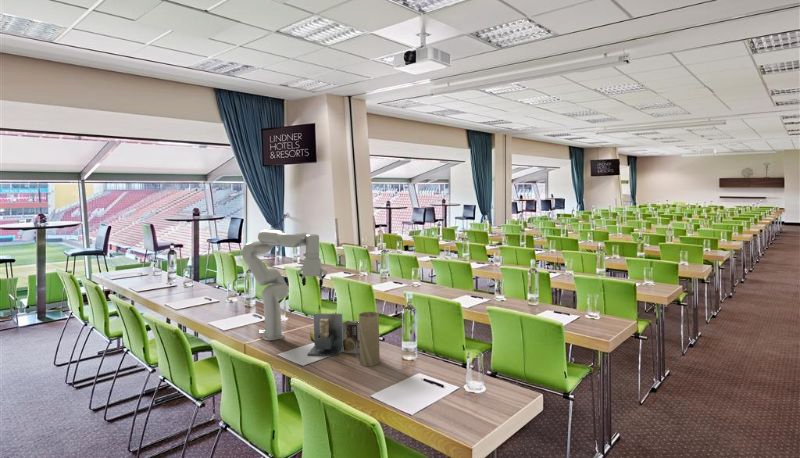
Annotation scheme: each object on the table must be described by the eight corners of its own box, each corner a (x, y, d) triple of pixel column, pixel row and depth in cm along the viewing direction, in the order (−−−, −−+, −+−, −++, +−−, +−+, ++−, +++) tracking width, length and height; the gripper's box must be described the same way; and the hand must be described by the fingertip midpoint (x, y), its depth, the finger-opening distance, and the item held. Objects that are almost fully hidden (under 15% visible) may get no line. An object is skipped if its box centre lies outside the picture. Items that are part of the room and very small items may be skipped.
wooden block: (320, 346, 258) (319, 320, 257) (321, 343, 262) (321, 318, 261) (327, 346, 258) (326, 320, 257) (329, 343, 262) (328, 318, 261)
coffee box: (362, 350, 262) (362, 321, 261) (358, 354, 256) (357, 324, 255) (347, 348, 265) (347, 320, 264) (342, 352, 259) (341, 323, 258)
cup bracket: (307, 355, 255) (306, 320, 254) (315, 345, 271) (314, 313, 269) (336, 356, 253) (335, 321, 252) (343, 346, 269) (342, 313, 268)
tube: (366, 367, 237) (365, 318, 235) (356, 361, 245) (355, 314, 243) (383, 363, 243) (382, 314, 240) (372, 357, 251) (371, 310, 249)
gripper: (295, 256, 268) (295, 286, 270) (325, 257, 266) (325, 287, 268) (299, 254, 276) (300, 283, 277) (329, 255, 274) (329, 285, 275)
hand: (312, 285), depth 273 cm, fingers open, 9 cm apart
